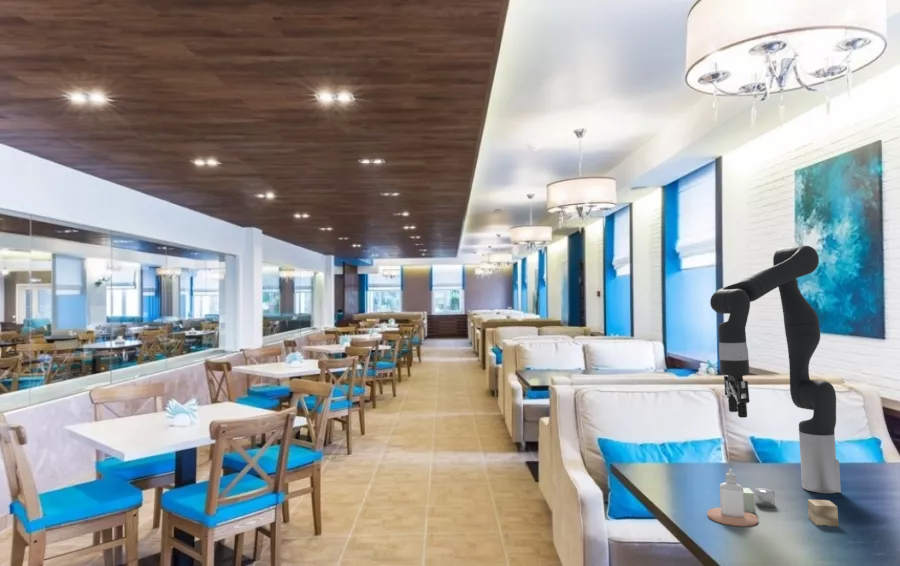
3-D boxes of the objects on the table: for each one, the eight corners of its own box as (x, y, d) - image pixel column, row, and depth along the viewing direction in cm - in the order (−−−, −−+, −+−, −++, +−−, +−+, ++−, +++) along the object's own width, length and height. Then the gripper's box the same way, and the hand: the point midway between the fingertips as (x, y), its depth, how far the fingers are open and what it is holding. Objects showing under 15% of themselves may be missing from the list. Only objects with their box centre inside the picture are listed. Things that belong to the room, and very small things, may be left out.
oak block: (830, 519, 146) (828, 500, 146) (838, 526, 141) (837, 506, 142) (808, 518, 147) (807, 499, 148) (816, 525, 142) (815, 505, 143)
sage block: (749, 506, 157) (748, 488, 158) (755, 512, 153) (754, 493, 153) (730, 505, 159) (729, 487, 159) (735, 511, 154) (734, 492, 154)
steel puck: (771, 502, 160) (770, 488, 160) (777, 508, 155) (777, 493, 155) (752, 501, 161) (751, 487, 161) (758, 507, 156) (757, 492, 156)
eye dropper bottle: (739, 519, 144) (737, 472, 145) (718, 514, 149) (716, 468, 150) (747, 516, 147) (745, 469, 148) (725, 510, 151) (723, 465, 152)
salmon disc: (749, 511, 152) (749, 508, 153) (764, 528, 141) (764, 524, 141) (702, 509, 155) (702, 506, 155) (713, 525, 143) (713, 521, 143)
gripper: (756, 360, 154) (760, 419, 153) (739, 355, 168) (743, 409, 167) (727, 360, 156) (731, 419, 155) (713, 356, 169) (717, 410, 169)
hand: (737, 414), depth 161 cm, fingers open, 8 cm apart
